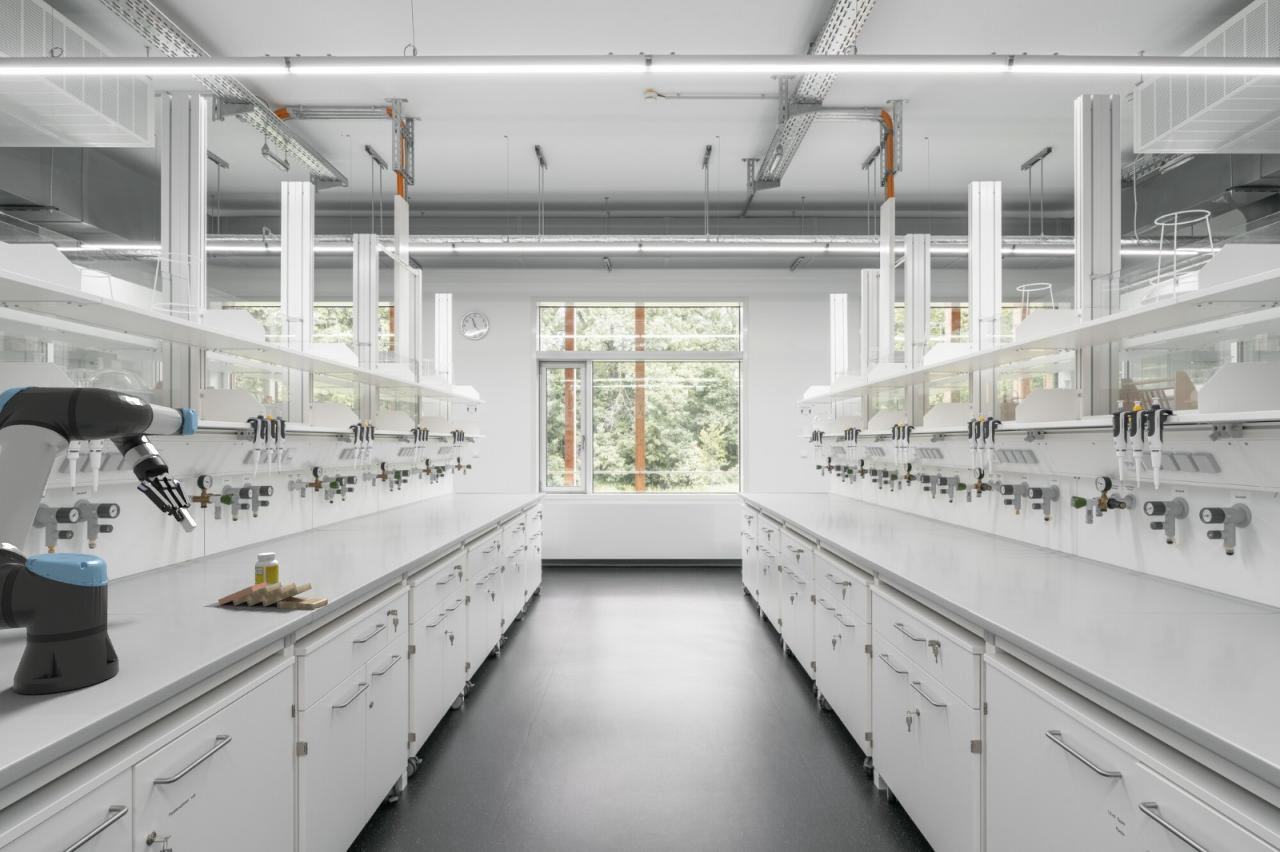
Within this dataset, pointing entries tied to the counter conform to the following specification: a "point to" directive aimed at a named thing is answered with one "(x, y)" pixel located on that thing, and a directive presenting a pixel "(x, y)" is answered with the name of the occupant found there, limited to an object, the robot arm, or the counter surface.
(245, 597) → the domino
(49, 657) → the robot arm
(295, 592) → the domino
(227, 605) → the mat
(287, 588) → the domino
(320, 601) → the domino
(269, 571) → the pill bottle
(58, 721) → the counter surface
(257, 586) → the domino
